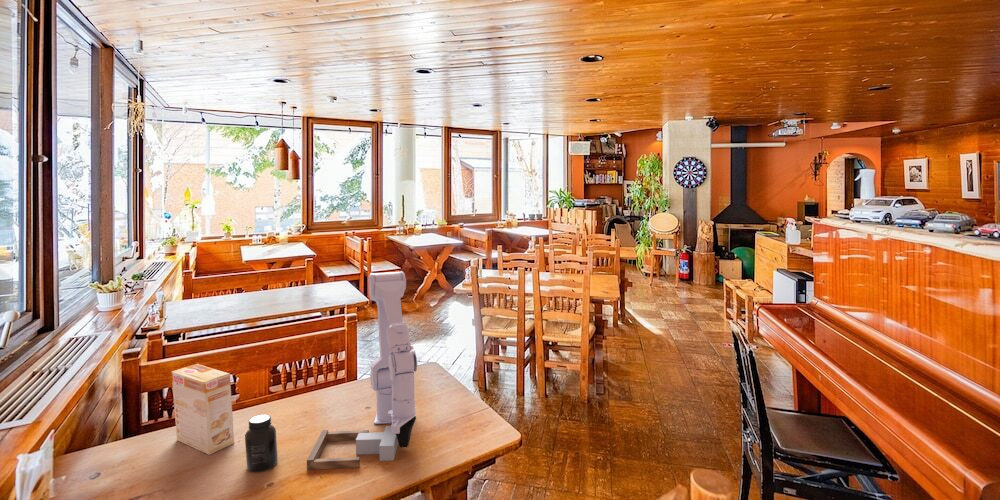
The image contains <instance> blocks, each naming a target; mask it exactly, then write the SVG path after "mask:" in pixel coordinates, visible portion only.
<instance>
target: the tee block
mask: <svg viewBox="0 0 1000 500" xmlns="http://www.w3.org/2000/svg"><path fill="white" fill-rule="evenodd" d="M398 447H399V443H398V440H397V436H396V434H394V433H391V425H385V428H384V430H383V432H382V431H381V432H379V431H378V432H369V433H359V434H358V436H357V438H356V440H355V454H356V455H379V461H380V462H388V461H389V462H390V461H395V457H396V454H397V450H398Z"/></svg>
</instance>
